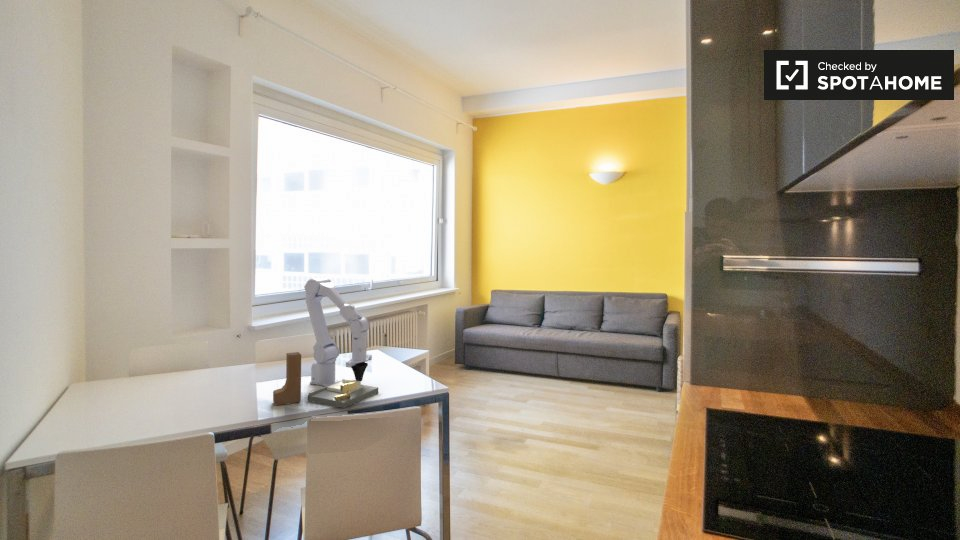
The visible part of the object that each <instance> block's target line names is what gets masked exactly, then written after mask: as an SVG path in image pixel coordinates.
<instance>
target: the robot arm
mask: <svg viewBox="0 0 960 540" xmlns="http://www.w3.org/2000/svg"><path fill="white" fill-rule="evenodd" d="M303 287H304V290H305V291H304V292H305V304H306V306H307V311H308V314H309V319H310V322H311V326H312V329H313V333H314V337H315V343H314V344H313V346H312V349H313V359H314V360H315V361H313V363H312V364H311V368H310V372H311V373H310V382H309V384H312V385H318V386H323V387H325V386H328V385H330V384H333V383H336V382H338V381H340V379H336V361H337V358H338V357H339V356H340V349H339V347H338V345H337V344H336V341H335V340H334V339H332V338H331V337H330V332H329V329H328V327H327V321H326V319H325V315H324V311H323V308H322V303H321V301H322V299H323V298H324V297H327V298H328V299H329V300H330V301H331V302H332V303H333V304H334V305H335V306H336V307H337V308H338V309H339V314H340V316H341V317H342V318H343V319H344V320H345V322H347V324H348V325H349V326H348V327H349V331H350V332H351V337H352V338H351V339H352V341H351V343H352V344H351V346H352V348H351V358H350V359H349V360H348V361H346V362H345V367H346V368H351V370H352V372H353V375H354V378H355V379H354V380H357V381H361V382H362V381H363V378H364V374H365V372H366V369H367V368H368V365H369V363H368V362H369V361H372V360H373V359H372V358H373V355H371V354H367V353H368V352H367V351H368V350H367V349H368V347H367V346H368V345H367V344H368V331H369V330H370V327H371V323H370V321H369V319H368V318H367V317H366V316H365V317H364V316H362V315H361V314H360V313H359V312H358V311H357V310H356V309H355V306H354V305H352V304H349V303H347V302H346V301H345V300H344V299H343V297H342V295H340V293H339V292H338V290H337V289H336V288H335V284H334V282H333V281H332V280H331V279H330V278H328V277H320V278H310V279H308V280H307V281H306V283H305V284H304V286H303Z"/></svg>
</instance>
